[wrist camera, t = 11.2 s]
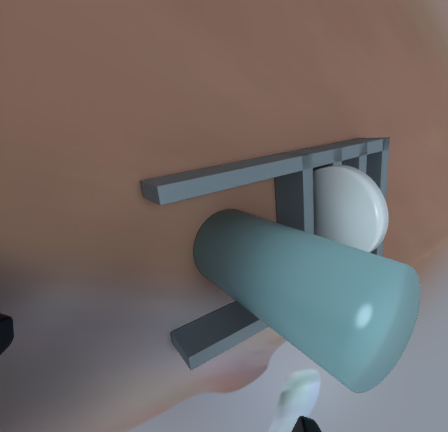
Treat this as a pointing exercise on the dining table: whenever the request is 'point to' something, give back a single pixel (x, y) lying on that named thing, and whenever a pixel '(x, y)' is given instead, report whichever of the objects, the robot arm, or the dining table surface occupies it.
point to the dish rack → (286, 214)
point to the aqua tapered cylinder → (314, 293)
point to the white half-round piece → (349, 207)
